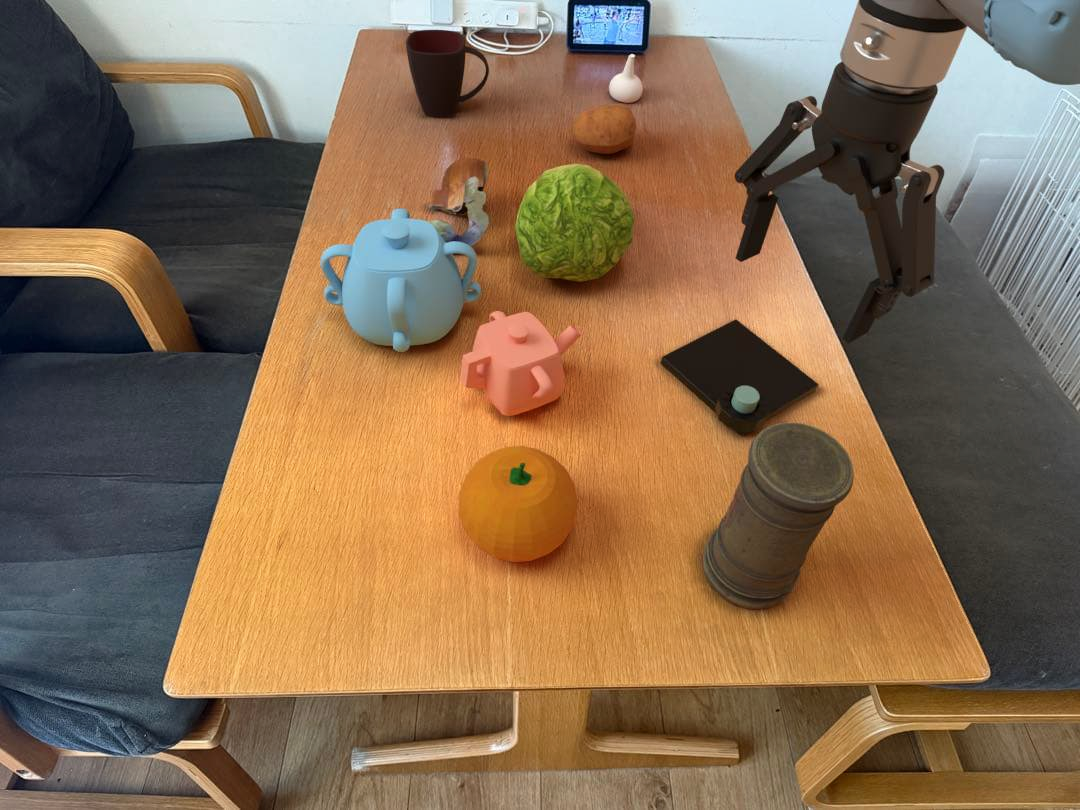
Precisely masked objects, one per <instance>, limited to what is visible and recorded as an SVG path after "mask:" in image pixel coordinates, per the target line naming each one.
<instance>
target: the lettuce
mask: <svg viewBox="0 0 1080 810" xmlns="http://www.w3.org/2000/svg"><path fill="white" fill-rule="evenodd" d="M635 219H636V216H635V212H634V210H633V207H632V205H631V203H630V202H629V200H628V198H627V197H626V195H625V193H624V191H623V190H622V188H621V186H620V184H618V183H617V182H616V181H614V180H613V179H611V178H610V177H609V176H608V175H606V174H605V173H604V172H602V171H601V170H600V171H599V170H597V169H595V168H594V167H592V166H591V165H587V164H581V163H571V164H565V165H559V166H556V167H553V168H550V169H546V170H545V171H544V172H543V173H542V174H540V176H539V177H538V178H537V179H536V180H535V181H534V182H533V183H532V184H531V185H530V186H529V187H528V188H527V189H526V191H525V193H524V196H523V198H522V199H521V202H520V205H519V207H518V211H517V215H516V221H515V224H514V228H515V230H514V231H515V236H516V240H517V246H518V250H519V254H520V258H521V261H522V263H523V264H524V265H525V266H526V267H528V268H529V270H531V271H532V272H533V273H534V274H535V275H536V276H537V277H539V278H540V279H562V280H567V281H573V282H577V283H581V282H586V281H591V280H596V279H601V278H602V277H603V276H604V275H606V274H607V273H608V272H610V270H611V269H613V268H614V267H615V266H616V265H617V264H618V262H619V261H620V260H621V258H622V257H623V255H624V254H625V253H626V251H627V250H628V248H629V247H630V246H631V245H632V243H633V237H634V227H635Z"/></svg>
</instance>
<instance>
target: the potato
mask: <svg viewBox="0 0 1080 810" xmlns="http://www.w3.org/2000/svg"><path fill="white" fill-rule="evenodd" d="M570 127H571V128H570V129H571V130H570V135H571V137H572V138H573V140H574V141H575V143H576V144H577V145H578V147H580V148H581V149H583V150H585V151H588V152H591V153H597V154H603V155H604V154H605V155H609V154H614V153H617V152H620V151H622V150H624V149H626V148H628V147H630V146H631V145H632V144H633V143H634V139H635V135H636V132H637V127H638V126H637V122H636V118H635V116H634V113H633V111H632V110H631V108H630V106H628V105H626V104H623V103H622V102H620V103H613V104H605V105H600V106H599V105H598V106H596V107H594V108H591V109H587V110H584V111H581V112H580V113H579V114H577V115H576V116H575V117H574V118H573V120H572V122H571V126H570Z"/></svg>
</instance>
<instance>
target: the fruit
mask: <svg viewBox="0 0 1080 810" xmlns="http://www.w3.org/2000/svg"><path fill="white" fill-rule="evenodd" d="M458 493H459V494H458V514H459V518H460V522H461V524H462V526H463V528H464V531H465V533H466V535H467V537H468V538H469V540H471V541H472V543H474V545H476V547H477V548H478V549H479V550H481V551H483V552H484V553H486V554H488V555H490V556H492V557H493V558H495V559H498V560H503V561H507V562H511V563H518V562H531V561H534V560H536V559H540V558H542V557H545V556H547V555H549V554H551V553H552V552H553V551H555V550H556V549H557V548H558V547H560V546H561V545H562V544H563V543H564V542H565V540H566V538H567V537H568V535H569V534H570V532H572V529H573V528H574V525H575V520H576V516H577V513H578V507H579V505H578V495H577V489H576V486H575V483H574V481H573V479H572V477H571V475H570V474H569V472H568V470H567V468H566V467H565V466H564V465H562V464H561V462H559V461H558V460H557V459H556V458H555V457H554V456H553V455H551V454H548V453H546V452H544V451H542V450H541V449H538V448H534V447H530V446H526V445H524V446H523V445H515V446H513V445H512V446H506V447H501V448H499V449H496V450H493V451H491V452H489V453H487V454H486V455H485V456H483V457H481V458H480V459H478V460H477V461H476V463H475V464H474V465H473V466H472V467H471V469H470V470H469V471H467V473H466V475H465V477H464V480H463V482H462V484H461V488H460V490H459V492H458Z"/></svg>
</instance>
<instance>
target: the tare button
mask: <svg viewBox="0 0 1080 810" xmlns="http://www.w3.org/2000/svg"><path fill="white" fill-rule="evenodd" d="M759 398H760V395H759V393H758V391H757V390H756V389H754V388H753V387H750V386H739V387H738V388H736V390H735V392H734V395H733V398H732V401H731V404H732V406H733V408H734V409H735V410H736V411H738V412H740V413H744V414H748V413H752V412H753V411H754V410H755V409H756V406H757V404H758V401H759Z"/></svg>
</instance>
